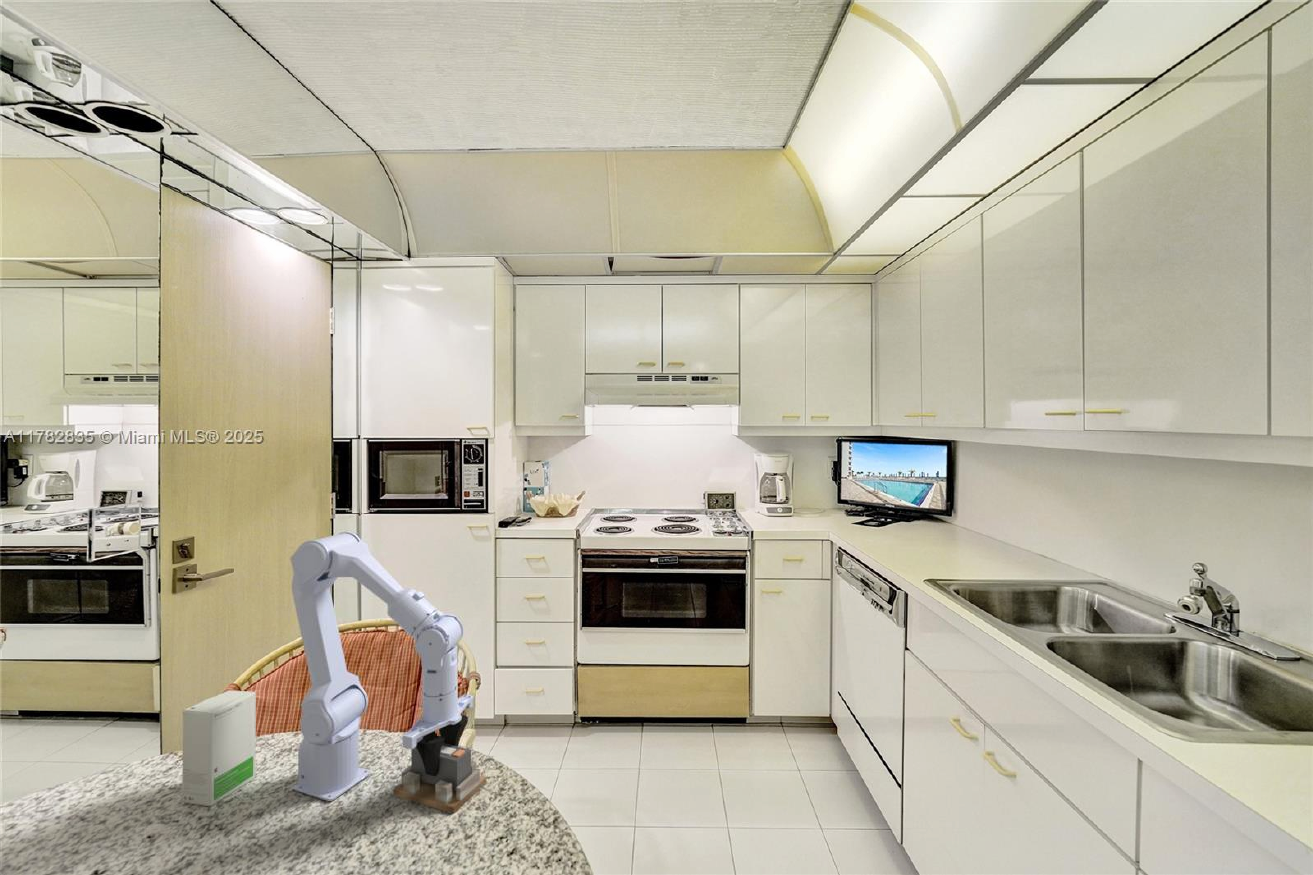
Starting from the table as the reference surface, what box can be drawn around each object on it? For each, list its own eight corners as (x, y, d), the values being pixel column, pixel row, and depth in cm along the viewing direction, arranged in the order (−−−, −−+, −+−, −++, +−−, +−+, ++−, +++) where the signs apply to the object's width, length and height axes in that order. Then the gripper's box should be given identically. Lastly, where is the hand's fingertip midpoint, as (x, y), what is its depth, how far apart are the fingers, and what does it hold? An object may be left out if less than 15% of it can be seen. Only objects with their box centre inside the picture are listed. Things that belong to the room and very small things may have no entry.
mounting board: (393, 795, 88) (393, 774, 88) (429, 767, 95) (429, 748, 95) (453, 813, 83) (453, 792, 83) (486, 782, 91) (486, 763, 91)
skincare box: (209, 808, 85) (209, 714, 85) (178, 803, 86) (178, 711, 87) (258, 776, 93) (258, 690, 94) (228, 772, 95) (228, 687, 95)
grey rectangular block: (411, 778, 89) (411, 748, 89) (426, 766, 93) (426, 737, 93) (457, 791, 86) (457, 759, 86) (471, 778, 89) (470, 748, 89)
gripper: (426, 713, 81) (426, 799, 81) (486, 674, 95) (486, 748, 95) (392, 706, 84) (392, 789, 84) (455, 669, 97) (456, 741, 97)
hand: (440, 767), depth 89 cm, fingers closed on grey rectangular block, 3 cm apart
